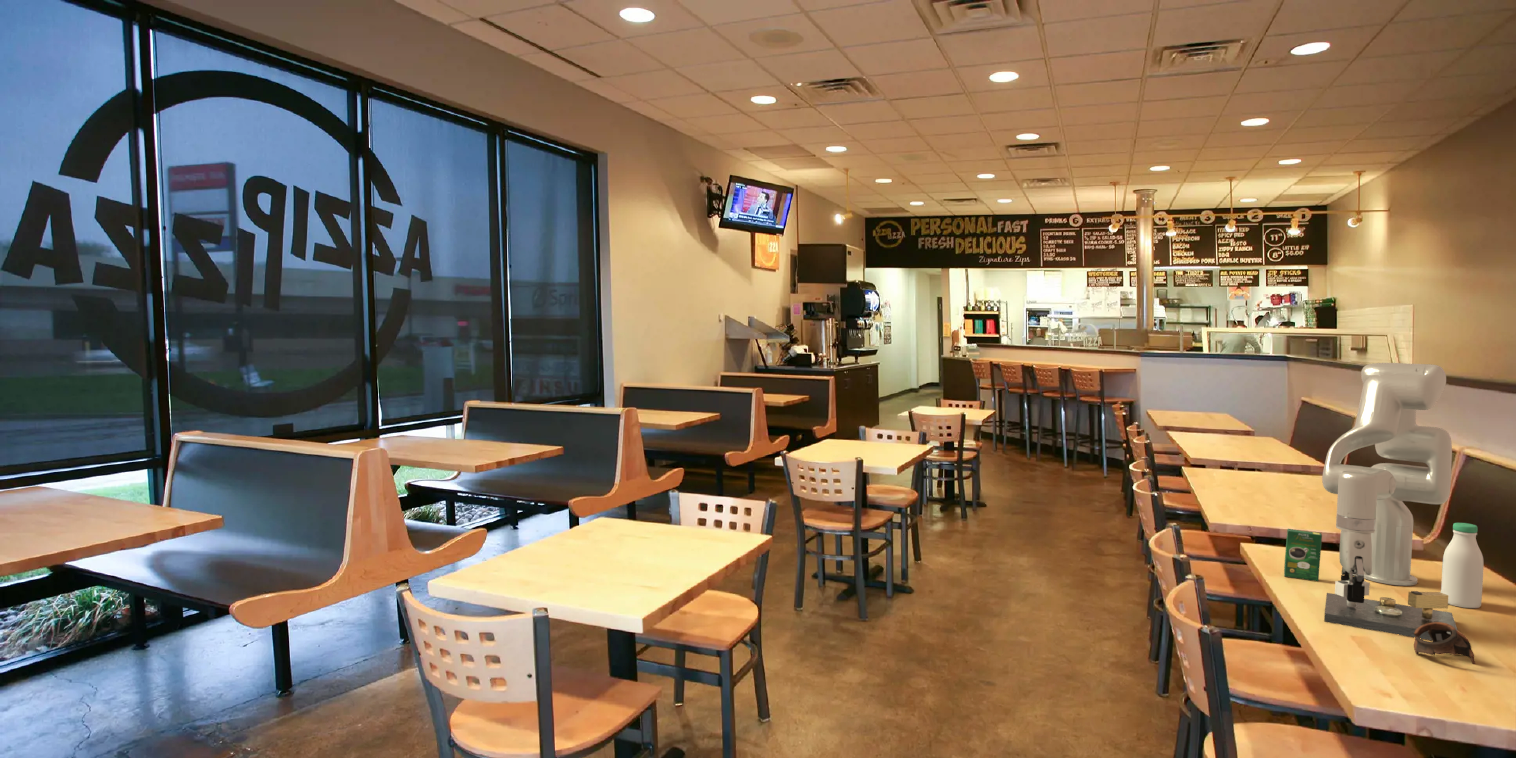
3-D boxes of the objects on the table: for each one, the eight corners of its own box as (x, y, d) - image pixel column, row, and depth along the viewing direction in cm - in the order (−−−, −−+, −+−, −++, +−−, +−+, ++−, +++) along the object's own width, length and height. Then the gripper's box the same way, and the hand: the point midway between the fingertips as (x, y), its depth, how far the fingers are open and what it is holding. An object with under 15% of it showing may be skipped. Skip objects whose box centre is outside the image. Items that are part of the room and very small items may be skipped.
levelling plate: (1326, 600, 205) (1327, 586, 205) (1451, 621, 191) (1452, 605, 191) (1324, 621, 191) (1325, 606, 191) (1459, 645, 177) (1460, 629, 177)
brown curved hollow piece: (1487, 673, 164) (1470, 639, 163) (1432, 684, 169) (1415, 651, 168) (1464, 637, 175) (1447, 605, 174) (1412, 648, 179) (1396, 617, 178)
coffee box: (1319, 579, 223) (1321, 531, 222) (1319, 582, 220) (1322, 534, 219) (1283, 574, 227) (1286, 527, 226) (1284, 577, 224) (1286, 530, 223)
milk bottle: (1488, 610, 199) (1494, 529, 197) (1452, 607, 200) (1457, 527, 199) (1468, 599, 206) (1473, 521, 205) (1433, 597, 208) (1437, 519, 206)
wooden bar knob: (1438, 616, 188) (1440, 590, 187) (1446, 620, 185) (1448, 594, 185) (1407, 615, 188) (1408, 590, 188) (1415, 619, 186) (1416, 593, 185)
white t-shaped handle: (1359, 603, 197) (1360, 578, 196) (1368, 606, 194) (1369, 581, 194) (1334, 604, 196) (1335, 580, 195) (1342, 608, 193) (1344, 583, 193)
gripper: (1384, 533, 184) (1380, 611, 185) (1366, 517, 200) (1362, 588, 201) (1343, 529, 188) (1340, 605, 189) (1329, 514, 203) (1326, 584, 204)
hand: (1351, 596), depth 195 cm, fingers open, 7 cm apart
